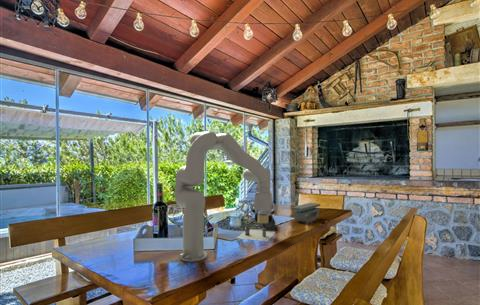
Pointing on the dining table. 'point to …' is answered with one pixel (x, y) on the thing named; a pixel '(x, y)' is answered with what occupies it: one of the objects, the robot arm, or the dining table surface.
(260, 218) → the brass ring
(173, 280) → the dining table surface
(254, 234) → the cream base plate
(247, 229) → the hub post
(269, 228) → the bluetooth speaker
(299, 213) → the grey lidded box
